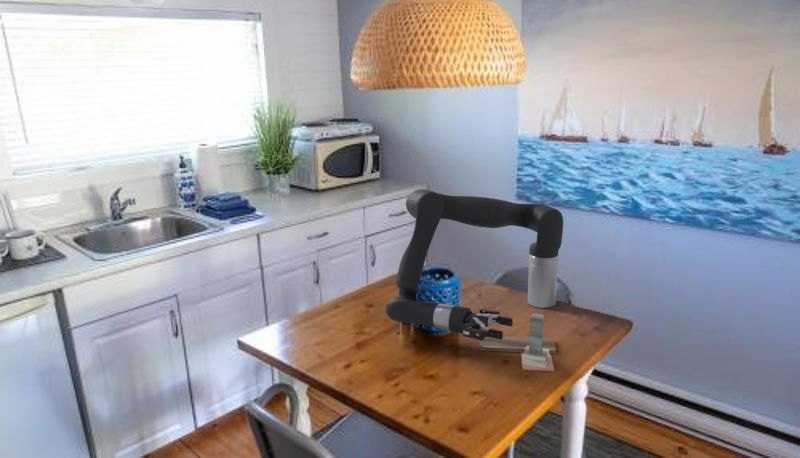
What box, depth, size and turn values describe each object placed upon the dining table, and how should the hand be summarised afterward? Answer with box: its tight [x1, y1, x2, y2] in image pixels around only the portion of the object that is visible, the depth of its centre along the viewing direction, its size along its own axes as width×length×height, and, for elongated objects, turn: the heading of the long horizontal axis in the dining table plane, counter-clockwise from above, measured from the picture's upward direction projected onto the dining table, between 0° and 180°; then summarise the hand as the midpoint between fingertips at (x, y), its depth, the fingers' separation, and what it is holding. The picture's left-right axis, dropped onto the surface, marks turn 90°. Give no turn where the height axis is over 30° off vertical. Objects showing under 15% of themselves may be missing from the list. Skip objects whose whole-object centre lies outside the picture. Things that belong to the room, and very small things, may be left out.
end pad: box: [520, 352, 555, 372], centre depth 153 cm, size 8×8×1 cm
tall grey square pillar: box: [521, 313, 550, 368], centre depth 151 cm, size 6×6×13 cm
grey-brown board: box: [478, 336, 556, 354], centre depth 162 cm, size 7×21×1 cm, turn 82°
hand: (507, 328), depth 154 cm, fingers open, 8 cm apart
